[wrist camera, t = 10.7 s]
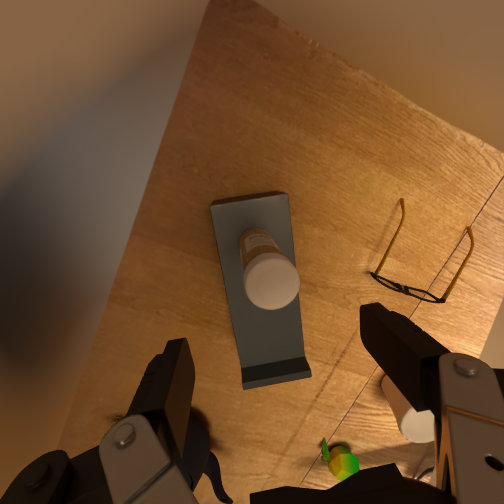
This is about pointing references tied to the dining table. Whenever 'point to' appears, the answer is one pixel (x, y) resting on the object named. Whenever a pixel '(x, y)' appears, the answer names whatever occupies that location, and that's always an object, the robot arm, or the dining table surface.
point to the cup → (408, 415)
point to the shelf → (241, 308)
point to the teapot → (200, 459)
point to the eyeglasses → (406, 288)
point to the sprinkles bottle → (267, 271)
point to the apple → (340, 461)
